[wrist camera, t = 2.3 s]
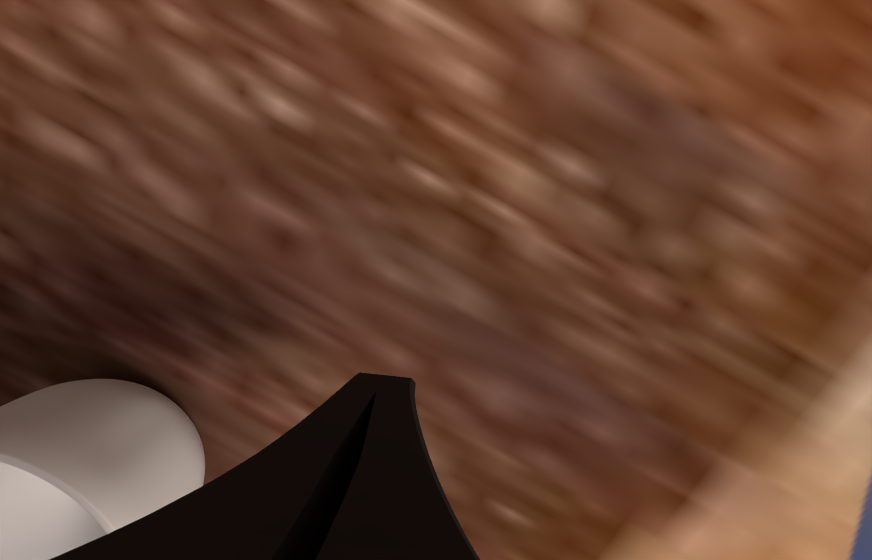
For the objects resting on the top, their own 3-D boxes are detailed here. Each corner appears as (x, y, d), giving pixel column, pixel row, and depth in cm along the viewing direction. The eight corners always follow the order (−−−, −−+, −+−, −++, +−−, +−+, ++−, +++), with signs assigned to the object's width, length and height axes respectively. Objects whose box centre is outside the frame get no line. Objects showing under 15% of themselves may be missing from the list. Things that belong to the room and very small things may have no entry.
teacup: (19, 425, 17) (-171, 541, 12) (115, 311, 15) (-61, 391, 10) (205, 560, 19) (110, 713, 14) (311, 473, 17) (247, 611, 12)
